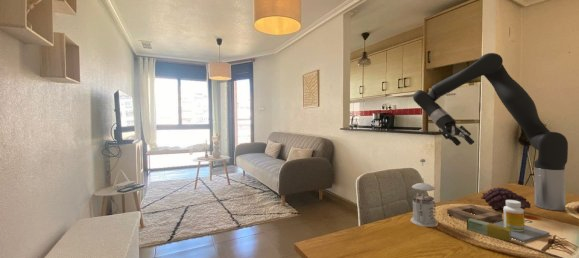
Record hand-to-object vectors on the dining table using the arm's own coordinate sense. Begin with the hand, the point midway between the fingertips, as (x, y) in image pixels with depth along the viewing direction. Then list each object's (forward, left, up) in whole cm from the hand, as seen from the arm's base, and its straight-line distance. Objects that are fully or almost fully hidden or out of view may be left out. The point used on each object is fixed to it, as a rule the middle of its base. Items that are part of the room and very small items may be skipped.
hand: (466, 144), depth 111 cm
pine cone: (-8, +10, -29) cm, 31 cm away
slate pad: (+10, +24, -29) cm, 38 cm away
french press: (+32, +5, -29) cm, 43 cm away
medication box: (+20, +22, -29) cm, 42 cm away
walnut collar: (+10, +10, -29) cm, 32 cm away
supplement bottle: (+10, +23, -28) cm, 38 cm away
